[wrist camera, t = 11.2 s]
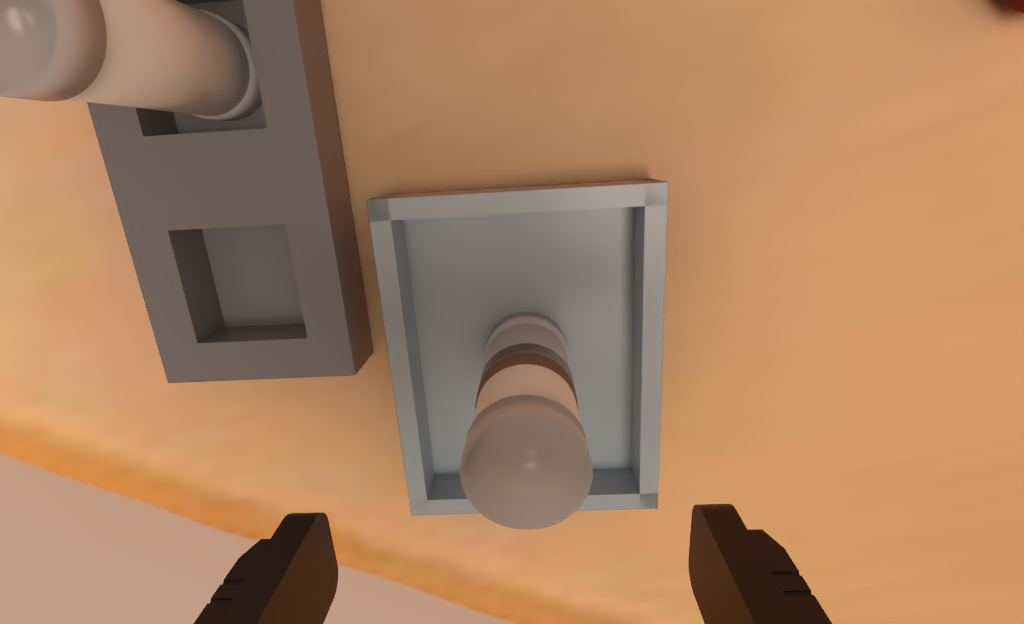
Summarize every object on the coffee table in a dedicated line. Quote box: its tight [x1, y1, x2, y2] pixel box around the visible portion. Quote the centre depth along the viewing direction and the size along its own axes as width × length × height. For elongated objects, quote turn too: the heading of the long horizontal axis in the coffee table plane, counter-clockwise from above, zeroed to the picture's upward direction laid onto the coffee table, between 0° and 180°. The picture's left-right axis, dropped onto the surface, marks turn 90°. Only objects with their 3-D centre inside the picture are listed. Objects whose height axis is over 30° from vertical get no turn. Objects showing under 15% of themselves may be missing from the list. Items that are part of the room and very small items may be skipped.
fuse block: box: [87, 0, 373, 383], centre depth 20 cm, size 16×8×2 cm, turn 4°
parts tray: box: [366, 179, 668, 516], centre depth 22 cm, size 14×11×2 cm
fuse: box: [0, 0, 262, 121], centre depth 15 cm, size 4×4×9 cm
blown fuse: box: [460, 312, 593, 530], centre depth 18 cm, size 4×4×9 cm
